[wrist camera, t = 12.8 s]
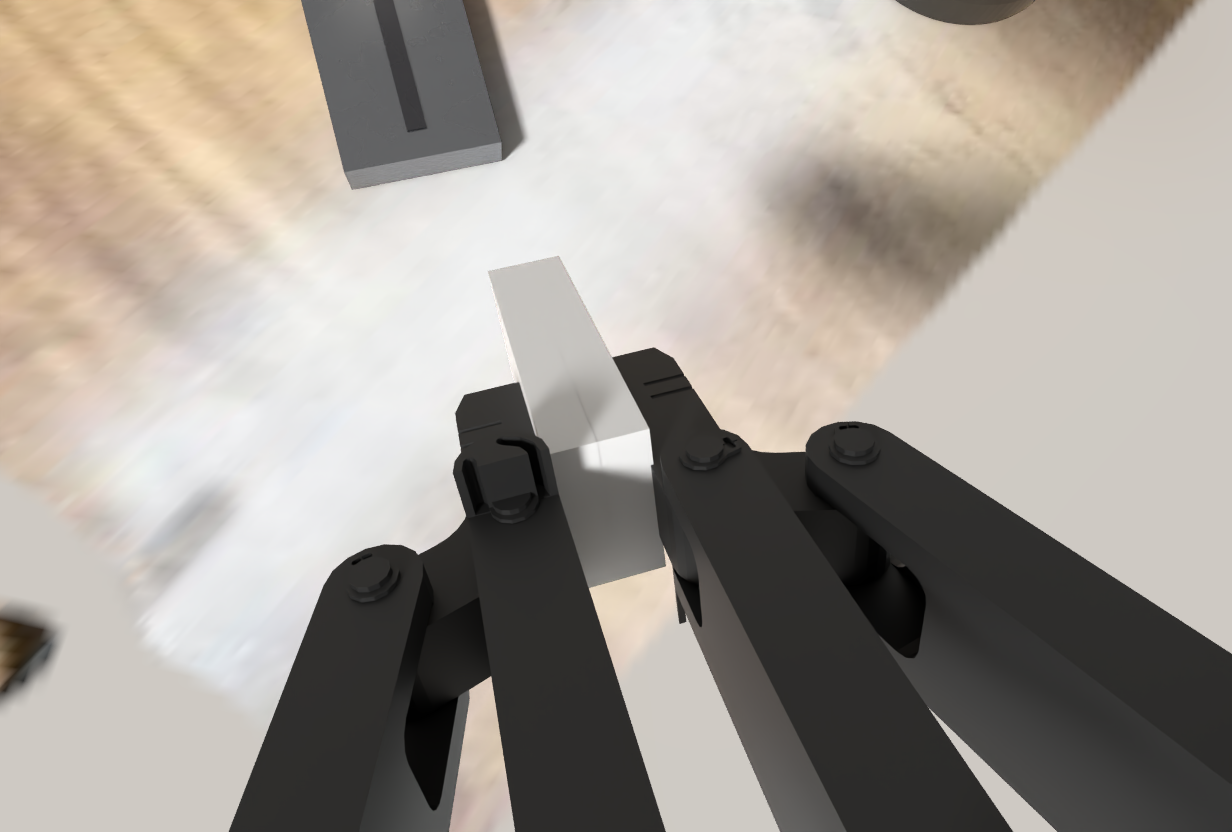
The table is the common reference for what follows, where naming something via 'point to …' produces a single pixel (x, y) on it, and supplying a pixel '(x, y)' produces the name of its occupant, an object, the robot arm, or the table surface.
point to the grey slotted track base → (402, 87)
